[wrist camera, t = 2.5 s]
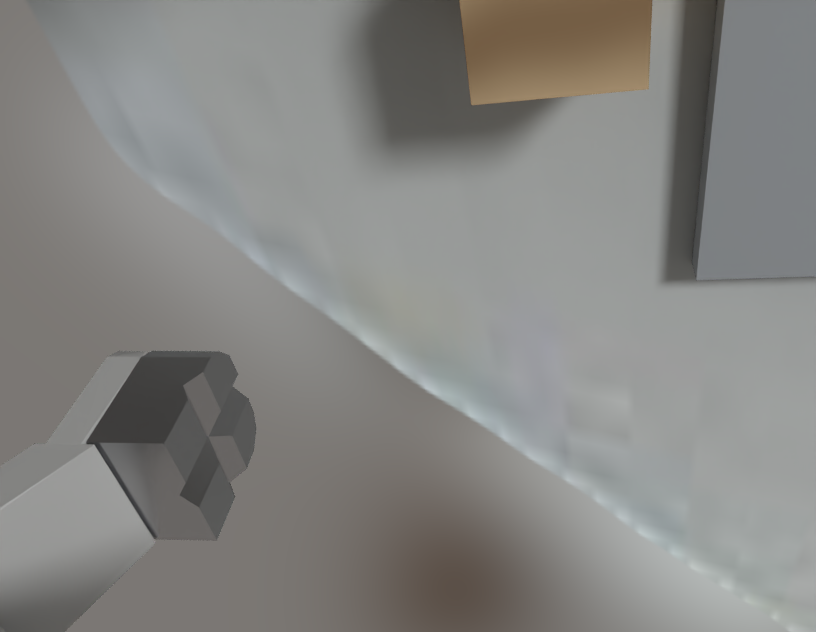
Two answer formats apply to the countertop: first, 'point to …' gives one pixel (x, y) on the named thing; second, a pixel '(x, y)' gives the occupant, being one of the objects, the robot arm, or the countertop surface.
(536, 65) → the maple block
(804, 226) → the board
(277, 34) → the countertop surface
